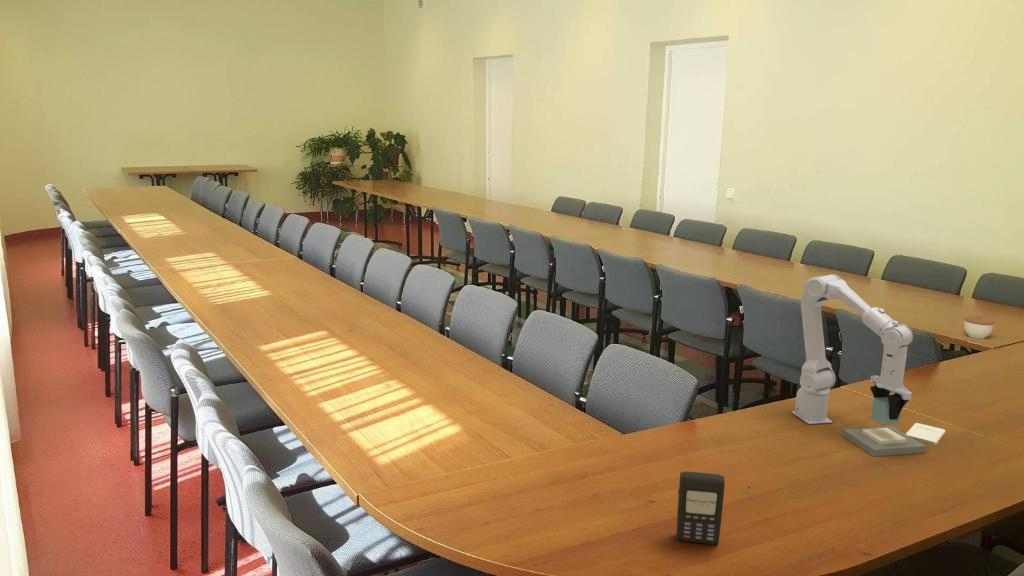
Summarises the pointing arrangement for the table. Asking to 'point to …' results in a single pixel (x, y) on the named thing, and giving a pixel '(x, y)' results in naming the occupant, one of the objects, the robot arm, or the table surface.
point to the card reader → (700, 507)
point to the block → (882, 411)
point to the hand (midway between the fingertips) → (886, 415)
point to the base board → (883, 441)
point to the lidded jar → (978, 326)
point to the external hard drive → (926, 433)
